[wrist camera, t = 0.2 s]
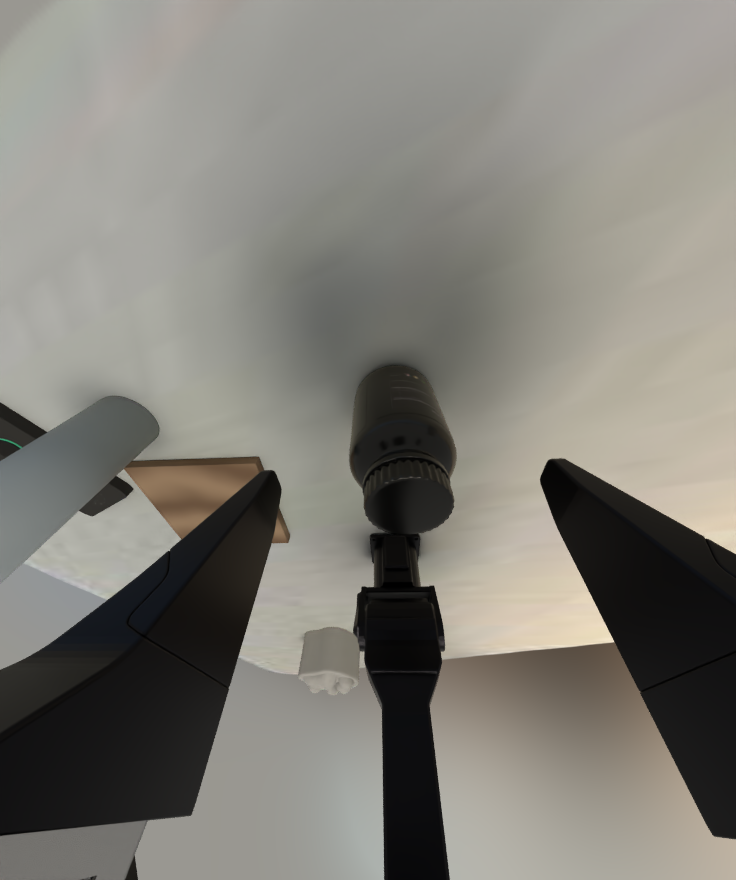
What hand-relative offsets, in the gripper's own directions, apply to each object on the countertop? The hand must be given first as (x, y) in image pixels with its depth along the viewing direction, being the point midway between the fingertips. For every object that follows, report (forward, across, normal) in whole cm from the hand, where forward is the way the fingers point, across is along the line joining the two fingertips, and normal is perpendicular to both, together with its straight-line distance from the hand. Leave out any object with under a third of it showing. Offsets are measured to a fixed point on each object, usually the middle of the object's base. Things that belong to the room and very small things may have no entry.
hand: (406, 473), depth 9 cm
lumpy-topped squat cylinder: (+14, +14, +64) cm, 67 cm away
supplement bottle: (+15, 0, +5) cm, 16 cm away
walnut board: (+14, +21, +18) cm, 31 cm away
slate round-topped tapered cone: (+14, +25, +6) cm, 29 cm away
